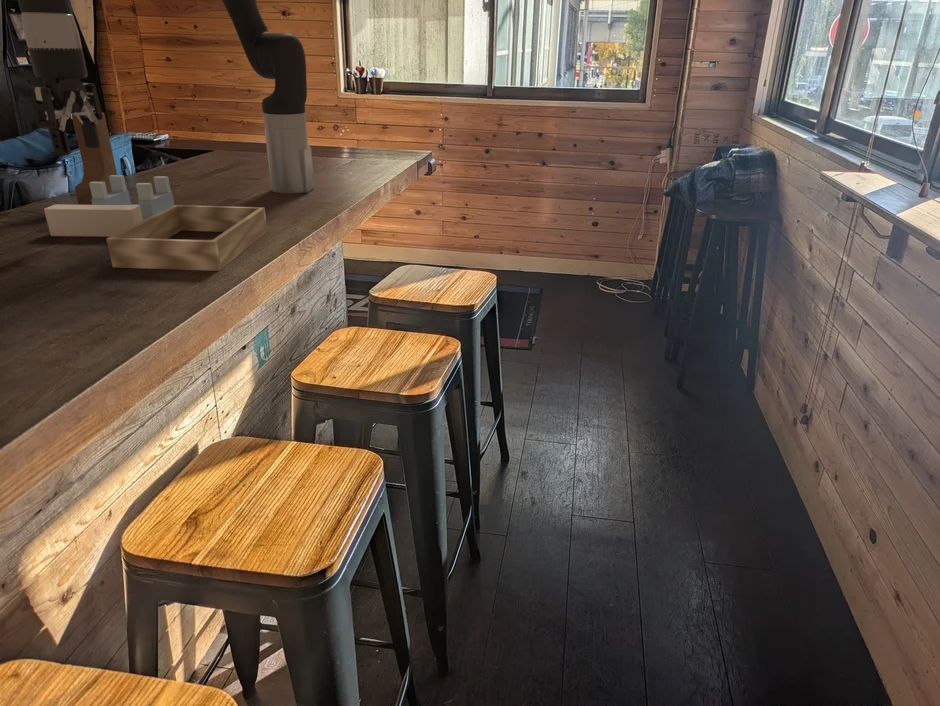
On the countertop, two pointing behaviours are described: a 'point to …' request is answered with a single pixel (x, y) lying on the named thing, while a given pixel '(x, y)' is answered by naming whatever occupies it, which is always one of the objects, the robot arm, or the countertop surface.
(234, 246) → the tray frame
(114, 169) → the wooden block
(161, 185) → the rack
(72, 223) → the clay strip
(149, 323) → the countertop surface
